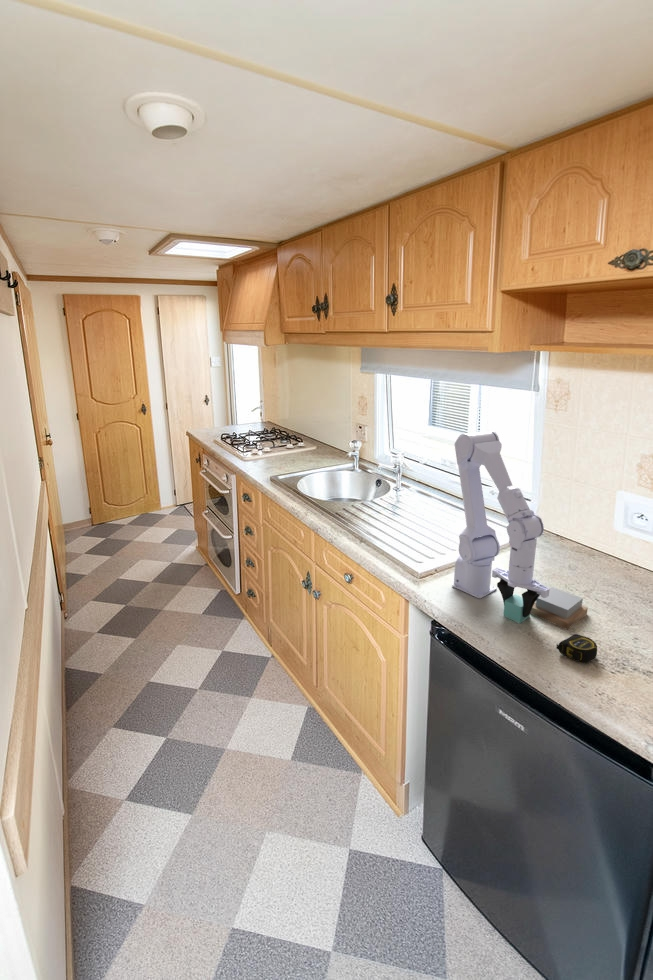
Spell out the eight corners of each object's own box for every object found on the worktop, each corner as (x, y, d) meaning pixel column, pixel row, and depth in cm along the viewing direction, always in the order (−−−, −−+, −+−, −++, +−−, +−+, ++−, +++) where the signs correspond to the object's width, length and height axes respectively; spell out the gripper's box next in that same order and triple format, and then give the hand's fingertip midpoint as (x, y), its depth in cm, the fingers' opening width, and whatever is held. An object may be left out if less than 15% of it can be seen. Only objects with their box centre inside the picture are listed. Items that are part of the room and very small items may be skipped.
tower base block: (528, 614, 133) (529, 606, 132) (549, 601, 139) (550, 593, 138) (566, 631, 126) (567, 622, 125) (586, 616, 132) (587, 608, 131)
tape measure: (574, 643, 120) (576, 629, 119) (602, 658, 115) (604, 644, 114) (555, 653, 117) (557, 639, 116) (583, 669, 111) (585, 655, 110)
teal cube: (503, 616, 132) (504, 600, 130) (513, 609, 134) (515, 594, 133) (519, 623, 128) (521, 607, 127) (529, 616, 131) (531, 601, 130)
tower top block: (535, 606, 132) (536, 597, 132) (551, 595, 137) (552, 586, 136) (566, 619, 127) (567, 610, 126) (581, 607, 131) (582, 598, 131)
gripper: (486, 557, 130) (482, 605, 134) (540, 578, 119) (534, 629, 123) (502, 549, 134) (498, 596, 138) (556, 569, 123) (550, 619, 127)
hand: (516, 611), depth 131 cm, fingers closed on teal cube, 4 cm apart
